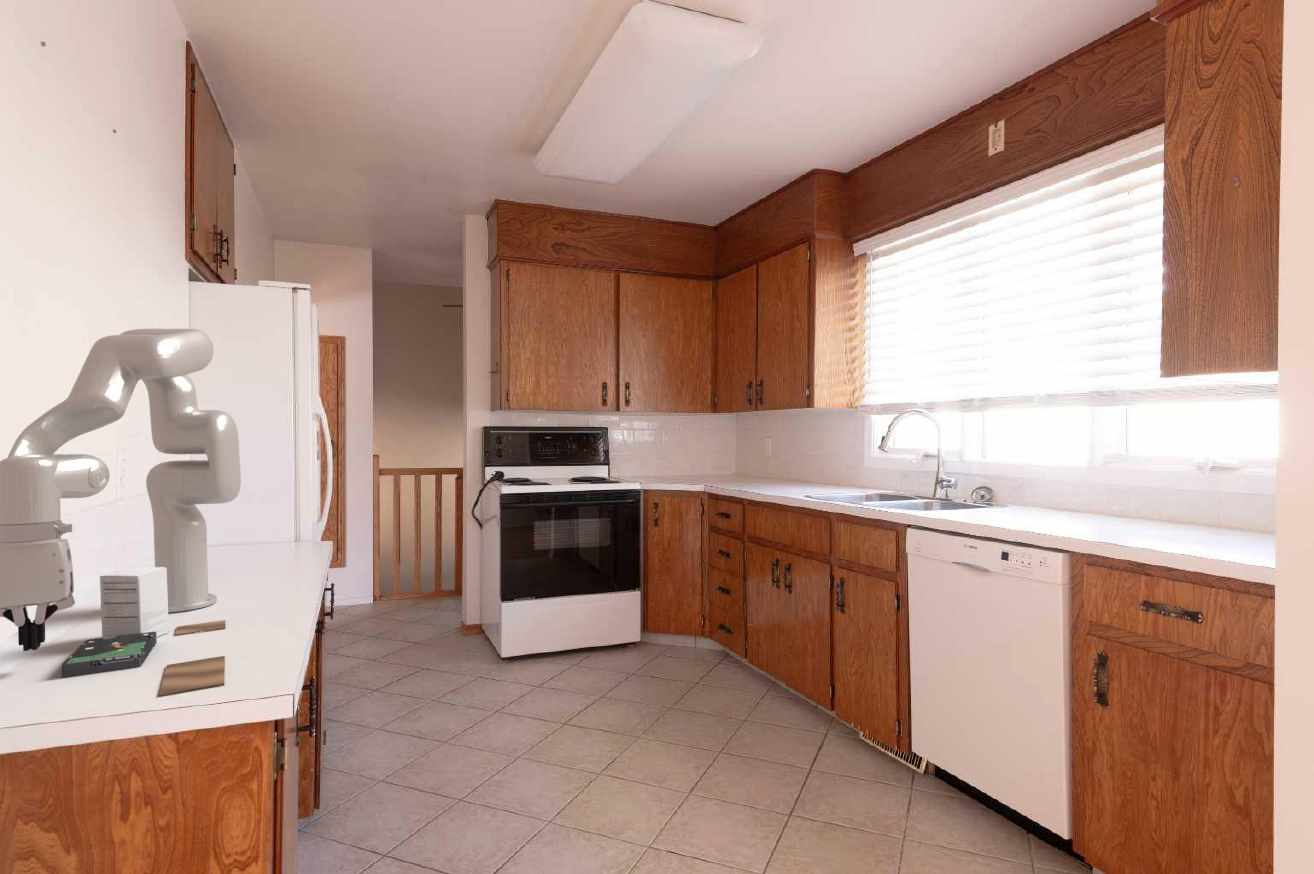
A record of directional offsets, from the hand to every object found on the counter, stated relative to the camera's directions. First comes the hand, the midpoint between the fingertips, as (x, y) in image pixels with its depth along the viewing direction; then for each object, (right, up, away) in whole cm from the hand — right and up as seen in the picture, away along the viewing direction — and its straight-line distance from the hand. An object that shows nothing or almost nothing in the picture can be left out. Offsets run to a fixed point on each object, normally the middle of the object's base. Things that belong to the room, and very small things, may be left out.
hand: (32, 648), depth 113 cm
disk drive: (+8, -4, +6) cm, 11 cm away
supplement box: (+4, -4, +17) cm, 18 cm away
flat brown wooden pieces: (+21, -3, +9) cm, 23 cm away
